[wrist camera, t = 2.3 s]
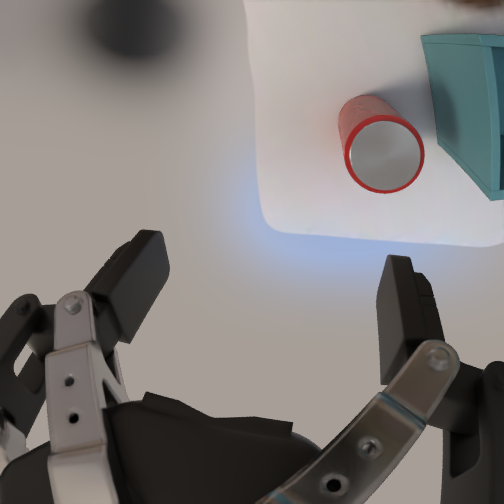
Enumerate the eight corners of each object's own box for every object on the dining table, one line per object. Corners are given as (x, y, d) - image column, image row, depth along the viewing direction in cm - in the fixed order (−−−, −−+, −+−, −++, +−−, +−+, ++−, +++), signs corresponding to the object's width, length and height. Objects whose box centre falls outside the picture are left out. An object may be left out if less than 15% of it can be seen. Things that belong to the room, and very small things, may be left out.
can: (326, 130, 31) (327, 165, 23) (359, 82, 27) (376, 98, 19) (374, 163, 32) (391, 209, 24) (408, 119, 28) (441, 150, 20)
